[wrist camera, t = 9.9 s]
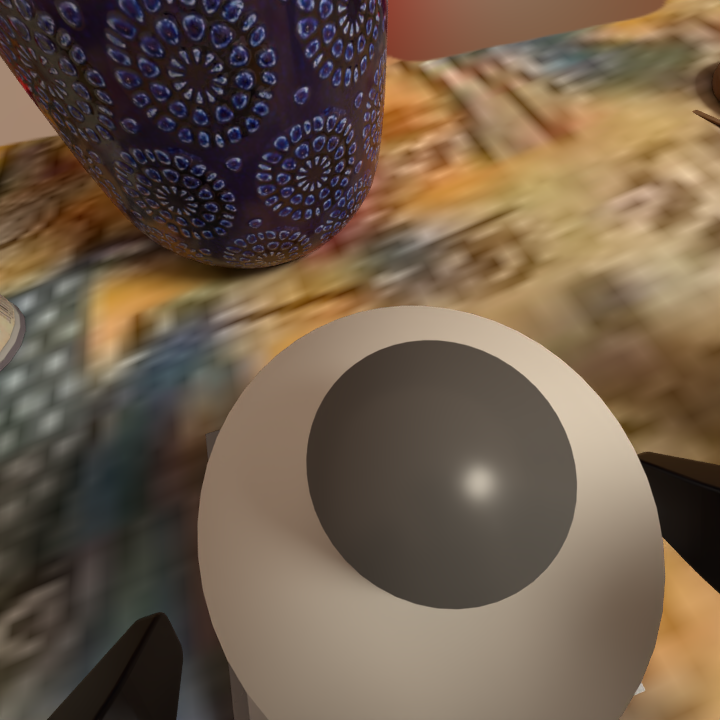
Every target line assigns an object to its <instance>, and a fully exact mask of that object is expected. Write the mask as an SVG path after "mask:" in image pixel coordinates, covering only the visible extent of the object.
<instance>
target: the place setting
mask: <svg viewBox="0 0 720 720" xmlns="http://www.w3.org/2000/svg"><path fill="white" fill-rule="evenodd" d="M712 87H713V92H714V94H715V96H716V98H717V99H718V101H719V102H720V63H719V65H718V67H717V69H716V70H715V72H714V75H713V80H712ZM693 113H695V114H697V115H699V116H700V117H702V118H704V119H706V120H708V121H711V122H713V123H715V124H717V125H719V126H720V120H719V119H717V118H714V117H712V116H710V115H707V114H705V113H703V112H701V111H698V110H695V111H693Z"/></svg>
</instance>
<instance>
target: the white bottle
mask: <svg viewBox="0 0 720 720" xmlns="http://www.w3.org/2000/svg"><path fill="white" fill-rule="evenodd" d="M197 526H198V560H199V567H200V574H201V581H202V588H203V593H204V596H205V600H206V604H207V607H208V611H209V615H210V618H211V622H212V625H213V628H214V630H215V632H216V635H217V637H218V639H219V642H220V644H221V647H222V649H223V651H224V654H225V656H226V658H227V660H228V662H229V664H230V665H231V667H232V669H233V671H234V672H235V674H236V676H237V677H238V679H239V681H240V682H241V684H242V686H243V687H244V689H245V691H246V692H247V694H248V695H249V696H250V697H251V699H252V700H253V701H254V702H255V704H256V705H257V706H258V707H259V709H260V710H261V711H262V712H263V714H264V715H265V716H266V717H267V719H268V720H618V719H619V718H620V717H621V716H622V714H623V713H624V711H625V709H626V707H627V706H628V704H629V702H630V701H631V699H632V697H633V696H634V694H635V692H636V690H637V689H638V687H639V685H640V684H641V682H642V679H643V676H644V674H645V671H646V669H647V666H648V664H649V661H650V658H651V656H652V653H653V651H654V648H655V644H656V639H657V635H658V630H659V626H660V621H661V616H662V612H663V598H664V585H665V566H664V549H663V539H662V533H661V528H660V523H659V517H658V512H657V507H656V504H655V501H654V498H653V495H652V492H651V488H650V485H649V482H648V479H647V476H646V474H645V472H644V469H643V467H642V465H641V463H640V461H639V458H638V456H637V454H636V452H635V449H634V447H633V446H632V444H631V442H630V441H629V439H628V437H627V435H626V434H625V432H624V430H623V429H622V427H621V425H620V424H619V422H618V421H617V419H616V418H615V416H614V415H613V414H612V412H611V411H610V410H609V408H608V407H607V406H606V404H605V403H604V402H603V400H602V399H601V398H600V397H599V396H598V395H597V393H596V392H595V391H594V390H593V389H592V388H591V387H590V386H589V385H588V384H587V383H586V381H585V380H584V379H583V378H582V377H581V376H580V375H578V374H577V373H576V372H575V371H574V370H573V369H572V368H571V367H569V366H568V365H567V364H566V363H565V362H564V361H563V360H561V359H560V358H559V357H557V356H556V355H555V354H553V353H552V352H550V351H549V350H548V349H546V348H545V347H543V346H542V345H541V344H539V343H537V342H536V341H534V340H532V339H530V338H529V337H527V336H525V335H523V334H522V333H520V332H518V331H516V330H514V329H511V328H509V327H507V326H505V325H502V324H500V323H498V322H496V321H493V320H490V319H487V318H484V317H481V316H478V315H475V314H471V313H467V312H462V311H458V310H453V309H448V308H439V307H430V306H396V307H386V308H378V309H373V310H369V311H364V312H359V313H356V314H352V315H349V316H346V317H343V318H340V319H337V320H335V321H333V322H330V323H328V324H326V325H324V326H321V327H319V328H317V329H315V330H313V331H312V332H310V333H308V334H307V335H305V336H303V337H301V338H300V339H298V340H296V341H295V342H294V343H292V344H291V345H290V346H288V347H287V348H286V349H284V350H283V351H282V352H280V353H279V354H278V355H277V356H275V357H274V358H273V359H272V360H271V361H270V362H269V363H268V364H267V365H266V366H265V367H264V368H263V369H262V370H261V371H260V372H259V373H258V374H257V375H256V376H255V378H254V379H253V380H252V381H251V382H250V384H249V385H248V386H247V387H246V388H245V390H244V391H243V392H242V394H241V395H240V397H239V398H238V400H237V401H236V403H235V405H234V406H233V408H232V409H231V411H230V412H229V414H228V416H227V418H226V420H225V422H224V424H223V426H222V428H221V430H220V432H219V434H218V436H217V438H216V441H215V444H214V447H213V450H212V452H211V455H210V458H209V461H208V463H207V468H206V472H205V476H204V481H203V485H202V489H201V495H200V504H199V514H198V523H197Z"/></svg>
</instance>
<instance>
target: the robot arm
mask: <svg viewBox="0 0 720 720" xmlns="http://www.w3.org/2000/svg"><path fill="white" fill-rule="evenodd" d="M637 456H638V458H639V461H640V463H641V465H642V467H643V469H644V472H645V474H646V476H647V479H648V482H649V485H650V488H651V492H652V495H653V498H654V501H655V504H656V507H657V512H658V517H659V523H660V528H661V533H662V537H663V538H664V539H665V540H666V541H667V542H668V543H669V544H670V545H671V546H672V547H673V548H674V549H675V550H676V552H677V553H678V554H679V555H680V556H681V557H682V558H683V559H684V560H685V561H686V562H687V563H688V564H689V565H690V566H691V567H692V568H693V569H694V570H695V571H696V572H697V573H698V574H699V575H700V576H701V577H702V578H703V579H704V580H705V581H706V582H708V583H709V584H710V585H711V586H712V587H713V588H714V589H715V590H716V591H717V592H718V593H720V465H716V464H710V463H705V462H700V461H695V460H689V459H684V458H679V457H674V456H668V455H663V454H658V453H653V452H643V453H640V454H637ZM182 664H183V651H182V647H181V644H180V642H179V640H178V637H177V635H176V633H175V631H174V629H173V627H172V625H171V623H170V621H169V619H168V617H167V616H166V615H165V614H164V613H162V612H159V613H155V614H152V615H149V616H146V617H143V618H141V619H139V620H137V621H136V622H135V623H134V624H133V625H132V626H131V627H130V628H129V629H128V630H127V631H126V633H125V634H124V635H123V636H122V637H121V638H120V639H119V640H118V641H117V643H116V644H115V645H114V646H113V647H112V648H111V649H110V650H109V651H108V653H107V654H106V655H105V656H104V657H103V658H102V659H101V660H100V661H99V663H98V664H97V665H96V666H95V667H94V668H93V669H92V670H91V671H90V673H89V674H88V675H87V676H86V677H85V678H84V679H83V680H82V681H81V683H80V684H79V685H78V686H77V687H76V688H75V689H74V690H73V691H72V693H71V694H70V695H69V696H68V697H67V698H66V699H65V700H64V701H63V703H62V704H61V705H60V706H59V707H58V708H57V709H56V710H55V711H54V713H53V714H52V715H51V716H50V717H49V718H48V719H47V720H176V717H177V708H178V699H179V691H180V682H181V673H182Z"/></svg>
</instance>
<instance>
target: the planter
mask: <svg viewBox="0 0 720 720" xmlns="http://www.w3.org/2000/svg"><path fill="white" fill-rule="evenodd" d="M387 24H388V0H0V56H1V57H2V59H3V60H4V61H5V63H6V64H7V66H8V67H9V69H10V70H11V72H12V73H13V74H14V76H15V77H16V79H17V80H18V81H19V83H20V84H21V85H22V87H23V88H24V89H25V91H26V92H27V94H28V95H29V96H30V98H31V99H32V100H33V101H34V103H35V104H36V106H37V107H38V108H39V109H40V111H41V112H42V113H43V115H44V116H45V117H46V119H47V120H48V121H49V123H50V124H51V125H52V127H53V128H54V129H55V130H56V132H57V133H58V135H59V136H60V137H61V138H62V140H63V141H64V142H65V144H66V145H67V146H68V148H69V149H70V150H71V152H72V153H73V154H74V156H75V157H76V158H77V160H78V161H79V162H80V163H81V165H82V166H83V167H84V168H85V170H86V171H87V172H88V173H89V174H90V176H91V177H92V178H93V179H94V180H95V182H96V183H97V184H98V185H99V187H100V188H101V189H102V190H103V191H104V193H105V194H106V195H107V196H108V197H109V198H110V199H111V201H112V202H113V203H114V204H115V205H116V206H117V207H118V208H119V210H120V211H121V212H122V213H123V214H124V215H125V216H126V217H127V219H128V220H129V221H130V222H131V223H133V224H134V225H135V226H136V227H137V228H138V229H139V230H141V231H142V232H143V233H144V234H145V235H146V236H148V237H149V238H150V239H151V240H153V241H154V242H156V243H157V244H159V245H161V246H162V247H164V248H166V249H168V250H170V251H172V252H174V253H176V254H178V255H180V256H183V257H185V258H188V259H191V260H194V261H197V262H201V263H204V264H208V265H212V266H217V267H224V268H241V269H249V268H262V267H269V266H274V265H278V264H282V263H286V262H289V261H292V260H295V259H297V258H300V257H302V256H304V255H306V254H308V253H310V252H312V251H314V250H316V249H317V248H319V247H320V246H322V245H323V244H325V243H326V242H328V241H329V240H331V239H332V238H333V237H334V236H336V235H337V234H338V233H339V232H340V231H341V230H342V229H343V228H344V227H345V226H346V225H347V223H348V222H349V221H350V220H351V219H352V218H353V216H354V215H355V214H356V212H357V211H358V210H359V208H360V206H361V205H362V203H363V201H364V199H365V198H366V196H367V194H368V192H369V190H370V188H371V186H372V183H373V179H374V175H375V172H376V168H377V164H378V159H379V152H380V143H381V135H382V125H383V113H384V100H385V80H386V53H387V51H386V50H387V27H388V25H387Z"/></svg>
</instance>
